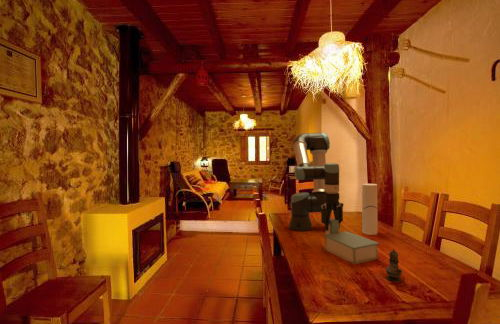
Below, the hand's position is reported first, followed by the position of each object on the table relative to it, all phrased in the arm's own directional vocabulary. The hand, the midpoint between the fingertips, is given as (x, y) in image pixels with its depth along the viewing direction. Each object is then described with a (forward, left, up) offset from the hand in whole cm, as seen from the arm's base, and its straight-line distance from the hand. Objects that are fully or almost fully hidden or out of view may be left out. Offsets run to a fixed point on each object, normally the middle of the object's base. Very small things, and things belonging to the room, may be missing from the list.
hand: (332, 235), depth 144 cm
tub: (+13, 0, -6) cm, 14 cm away
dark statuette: (+40, -3, -6) cm, 41 cm away
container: (-9, +36, -6) cm, 38 cm away
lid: (+10, 0, 0) cm, 10 cm away
